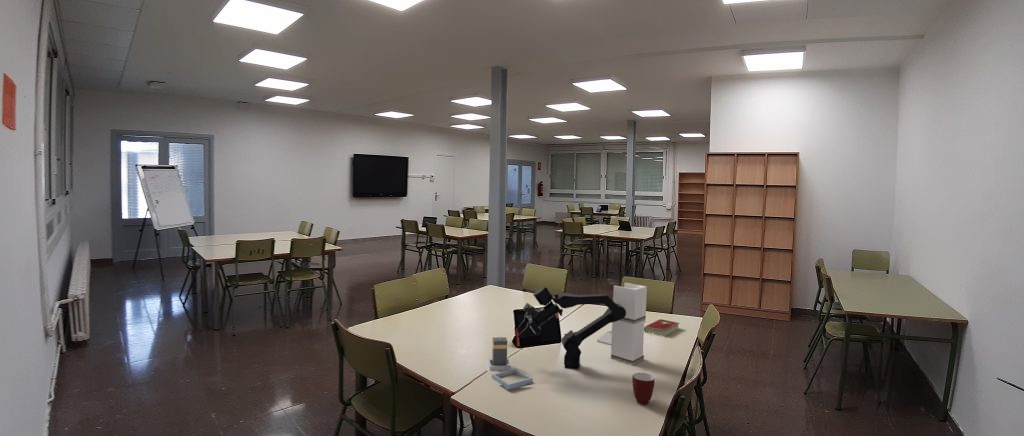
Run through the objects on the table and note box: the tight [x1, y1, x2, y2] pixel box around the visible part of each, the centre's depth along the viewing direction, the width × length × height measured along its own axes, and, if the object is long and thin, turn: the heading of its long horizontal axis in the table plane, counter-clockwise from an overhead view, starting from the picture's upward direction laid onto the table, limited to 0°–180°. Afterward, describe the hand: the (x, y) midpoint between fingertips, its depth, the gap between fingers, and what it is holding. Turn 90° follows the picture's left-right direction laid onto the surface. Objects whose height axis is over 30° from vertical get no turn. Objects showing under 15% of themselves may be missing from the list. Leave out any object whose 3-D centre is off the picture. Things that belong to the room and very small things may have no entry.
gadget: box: [596, 330, 612, 346], centre depth 252 cm, size 23×15×4 cm, turn 138°
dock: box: [484, 358, 515, 372], centre depth 209 cm, size 12×10×2 cm
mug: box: [631, 372, 656, 405], centre depth 180 cm, size 10×8×10 cm
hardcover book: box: [644, 318, 680, 337], centre depth 271 cm, size 12×21×4 cm, turn 139°
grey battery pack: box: [491, 334, 508, 366], centre depth 209 cm, size 6×5×13 cm
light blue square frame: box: [491, 368, 533, 392], centre depth 194 cm, size 12×12×2 cm
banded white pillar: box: [610, 282, 648, 366], centre depth 223 cm, size 11×11×35 cm
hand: (517, 333), depth 211 cm, fingers open, 9 cm apart
